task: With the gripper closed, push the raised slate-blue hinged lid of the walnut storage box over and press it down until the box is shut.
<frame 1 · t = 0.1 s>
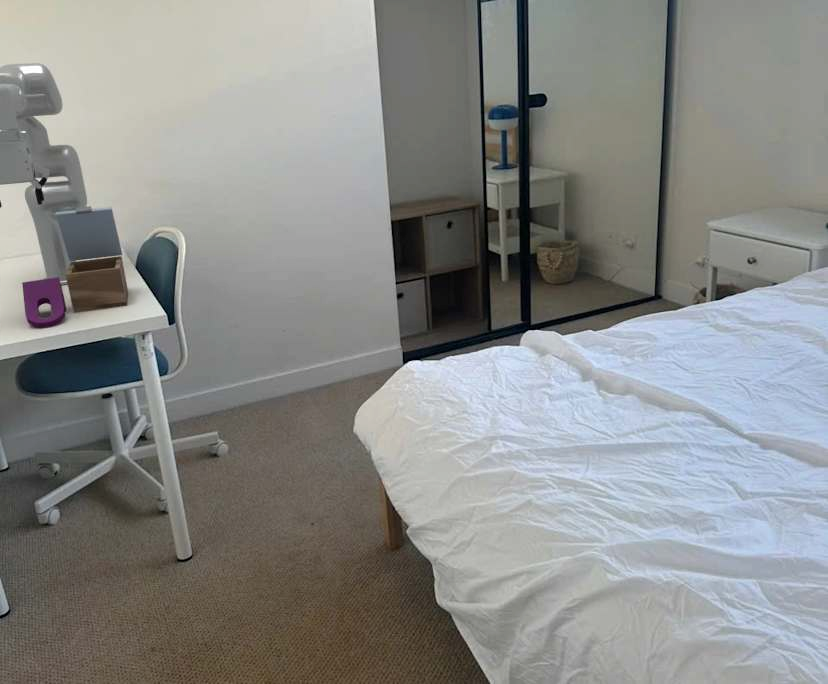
hand: (20, 205, 191), 31 cm above the table, fingers open, 9 cm apart
storage box: (102, 301, 216), on the table
mounting bracket: (48, 320, 203), on the table
lid: (89, 234, 213), point 19 cm above the table, hinge at 65.0°
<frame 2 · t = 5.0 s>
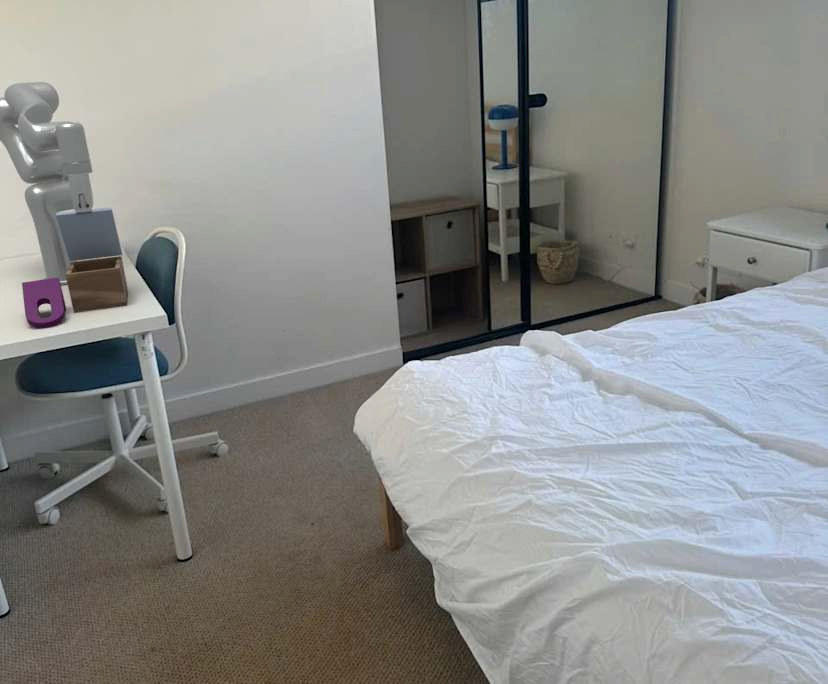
hand: (90, 232, 215), 19 cm above the table, fingers closed
lid: (89, 234, 213), point 19 cm above the table, hinge at 63.6°, touching gripper
everything else where it was.
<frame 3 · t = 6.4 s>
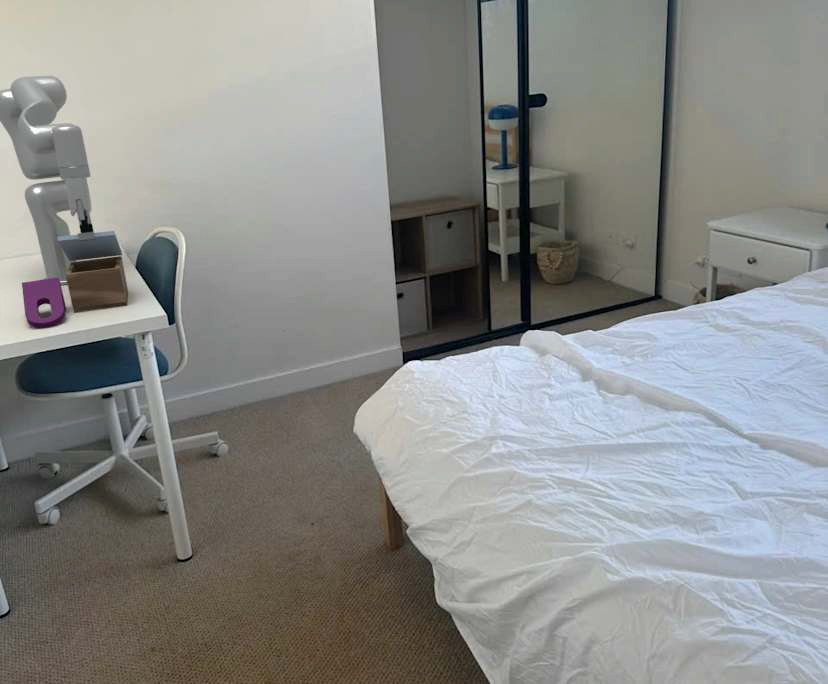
hand: (88, 238, 209), 19 cm above the table, fingers closed
lid: (91, 247, 211), point 16 cm above the table, hinge at 32.4°, touching gripper
everything else where it was.
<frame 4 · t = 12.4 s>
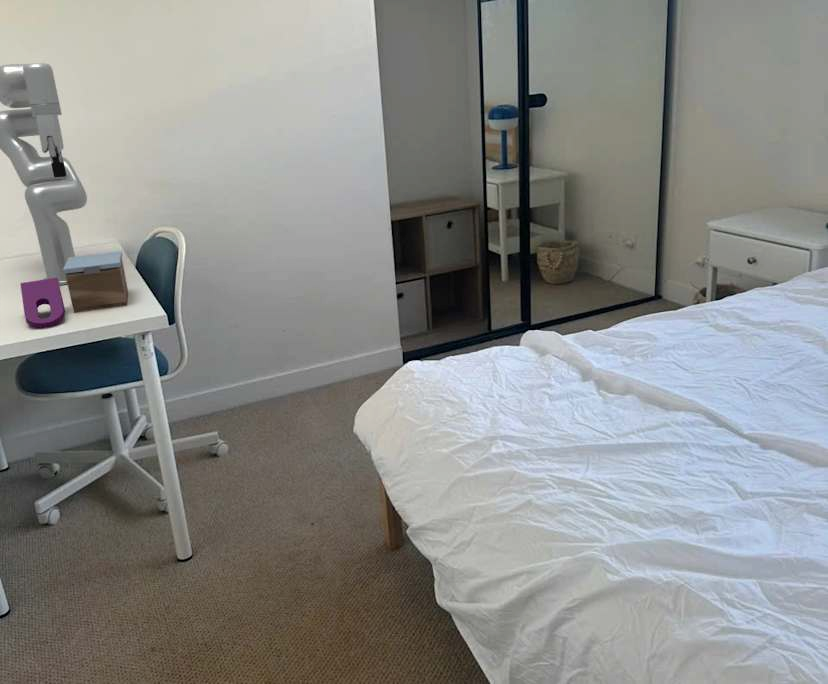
hand: (60, 176, 214), 35 cm above the table, fingers closed
lid: (94, 263, 212), point 12 cm above the table, hinge at 0.5°
everything else where it was.
at the end: lid at +0° (first picture: +65°); the gripper is holding nothing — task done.
